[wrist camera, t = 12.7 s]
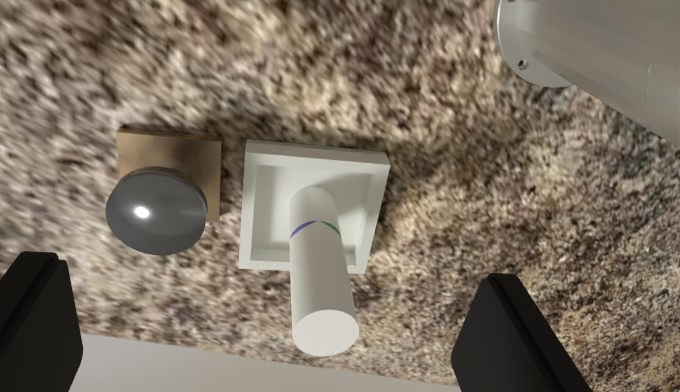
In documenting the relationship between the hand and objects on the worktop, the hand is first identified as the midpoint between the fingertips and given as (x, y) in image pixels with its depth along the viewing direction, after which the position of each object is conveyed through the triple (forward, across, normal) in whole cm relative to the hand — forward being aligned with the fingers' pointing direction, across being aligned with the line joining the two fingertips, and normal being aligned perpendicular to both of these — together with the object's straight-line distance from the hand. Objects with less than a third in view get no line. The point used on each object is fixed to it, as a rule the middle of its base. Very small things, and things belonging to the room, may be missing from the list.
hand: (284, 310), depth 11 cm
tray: (+28, -4, +15) cm, 32 cm away
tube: (+28, -4, +15) cm, 32 cm away
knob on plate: (+28, +8, +13) cm, 32 cm away
